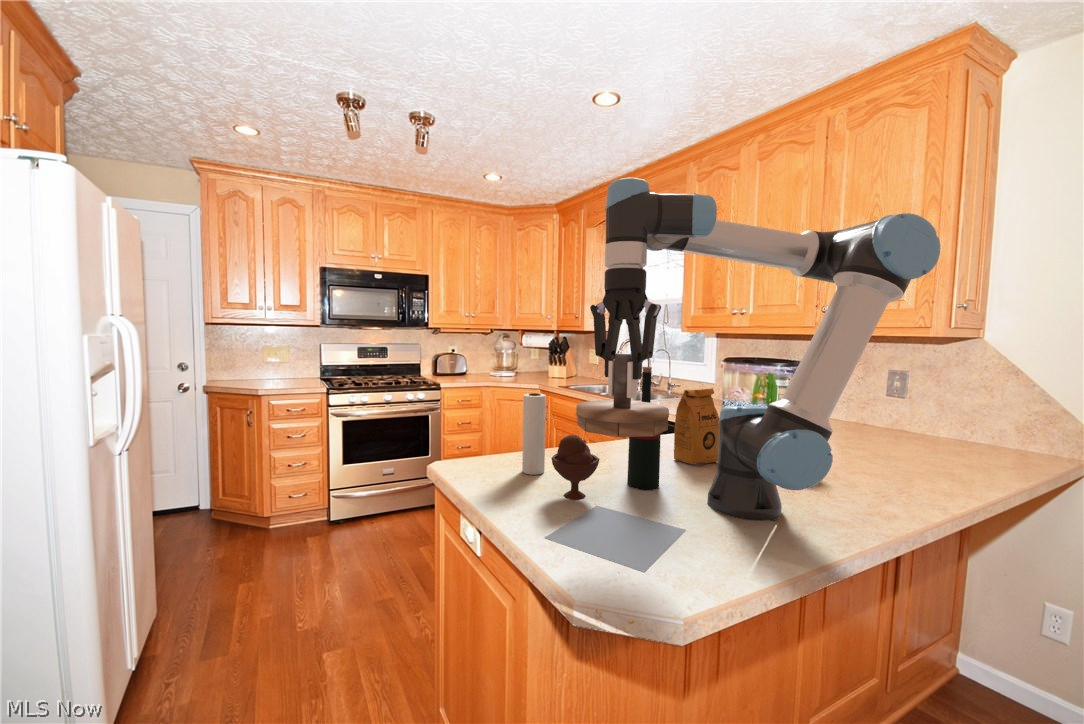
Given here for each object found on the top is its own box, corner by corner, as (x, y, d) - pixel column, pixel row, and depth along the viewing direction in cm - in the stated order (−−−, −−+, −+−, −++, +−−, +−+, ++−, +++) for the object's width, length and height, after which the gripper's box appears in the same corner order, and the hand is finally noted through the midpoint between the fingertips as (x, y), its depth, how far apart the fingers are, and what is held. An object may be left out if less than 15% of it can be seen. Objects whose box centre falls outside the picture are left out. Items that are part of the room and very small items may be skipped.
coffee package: (725, 464, 139) (728, 390, 137) (690, 468, 134) (694, 391, 132) (701, 455, 148) (705, 385, 146) (669, 459, 143) (671, 387, 142)
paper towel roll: (533, 476, 124) (535, 396, 123) (517, 471, 128) (518, 394, 127) (551, 471, 130) (553, 393, 128) (535, 466, 134) (537, 391, 132)
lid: (681, 425, 90) (684, 354, 89) (645, 442, 77) (647, 358, 76) (603, 414, 100) (604, 350, 99) (558, 428, 87) (559, 353, 85)
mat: (686, 532, 92) (686, 529, 92) (644, 575, 76) (644, 572, 76) (596, 507, 104) (596, 505, 104) (543, 540, 88) (543, 537, 88)
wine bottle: (642, 475, 127) (646, 364, 124) (665, 488, 117) (670, 368, 115) (616, 478, 124) (620, 365, 121) (638, 492, 114) (642, 368, 112)
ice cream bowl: (600, 507, 104) (602, 440, 103) (550, 506, 105) (551, 439, 103) (596, 490, 115) (597, 429, 114) (550, 489, 115) (551, 428, 114)
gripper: (676, 268, 84) (671, 397, 86) (596, 273, 94) (594, 389, 96) (660, 263, 78) (655, 403, 80) (576, 269, 88) (574, 394, 90)
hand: (622, 395), depth 88 cm, fingers closed on lid, 3 cm apart
